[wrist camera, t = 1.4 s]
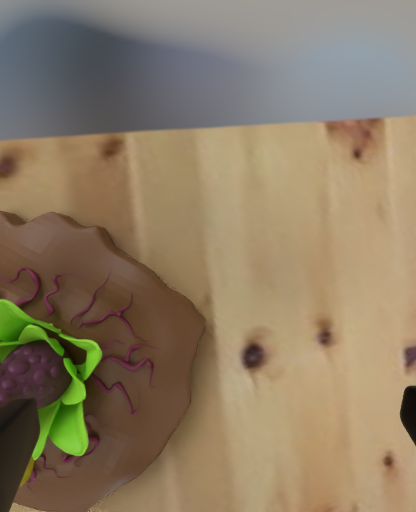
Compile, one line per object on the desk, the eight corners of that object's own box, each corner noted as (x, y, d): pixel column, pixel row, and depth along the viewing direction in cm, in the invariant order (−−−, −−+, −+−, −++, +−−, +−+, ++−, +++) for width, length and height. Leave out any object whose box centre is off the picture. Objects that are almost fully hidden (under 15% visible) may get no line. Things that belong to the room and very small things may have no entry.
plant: (120, 524, 22) (50, 809, 11) (-123, 419, 21) (-492, 621, 9) (238, 296, 22) (288, 342, 11) (5, 177, 21) (-206, 92, 10)
